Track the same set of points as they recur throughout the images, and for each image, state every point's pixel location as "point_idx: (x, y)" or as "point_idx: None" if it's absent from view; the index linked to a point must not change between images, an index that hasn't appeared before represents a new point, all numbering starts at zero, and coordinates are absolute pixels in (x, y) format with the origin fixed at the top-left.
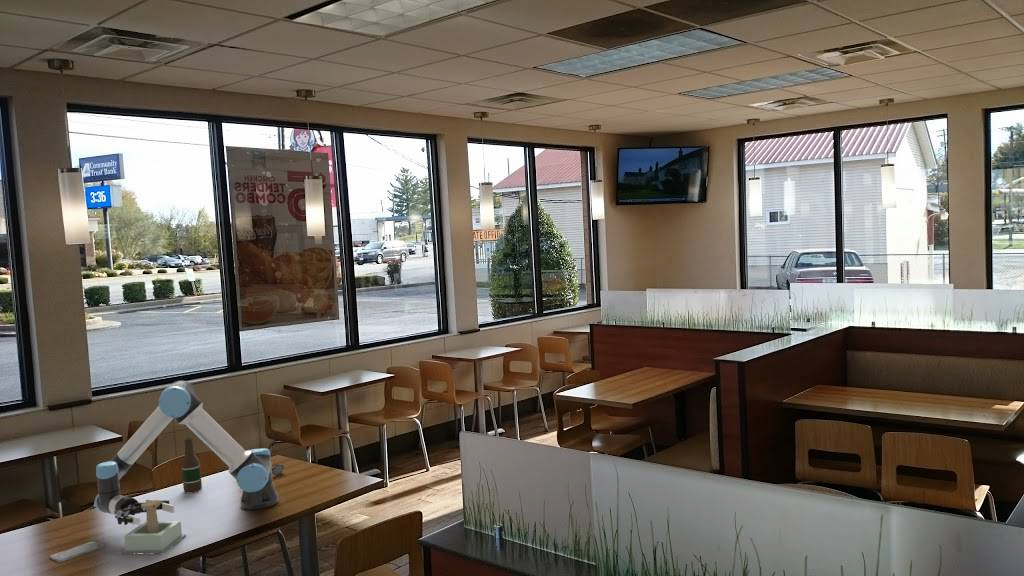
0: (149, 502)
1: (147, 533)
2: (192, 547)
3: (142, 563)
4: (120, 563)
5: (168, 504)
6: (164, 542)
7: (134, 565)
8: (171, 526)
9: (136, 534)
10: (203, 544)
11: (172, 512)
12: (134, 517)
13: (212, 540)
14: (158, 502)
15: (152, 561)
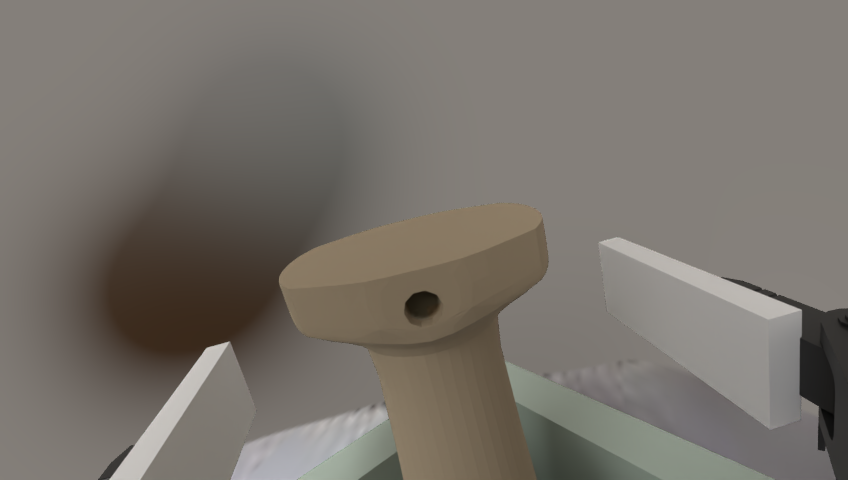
0: (404, 254)
1: (563, 427)
2: (366, 427)
3: (632, 388)
4: (803, 457)
5: (182, 396)
6: None
7: (678, 387)
8: (351, 454)
9: (676, 465)
10: (315, 429)
11: (253, 410)
12: (659, 257)
13: (258, 448)
14: (342, 239)
15: (579, 384)
